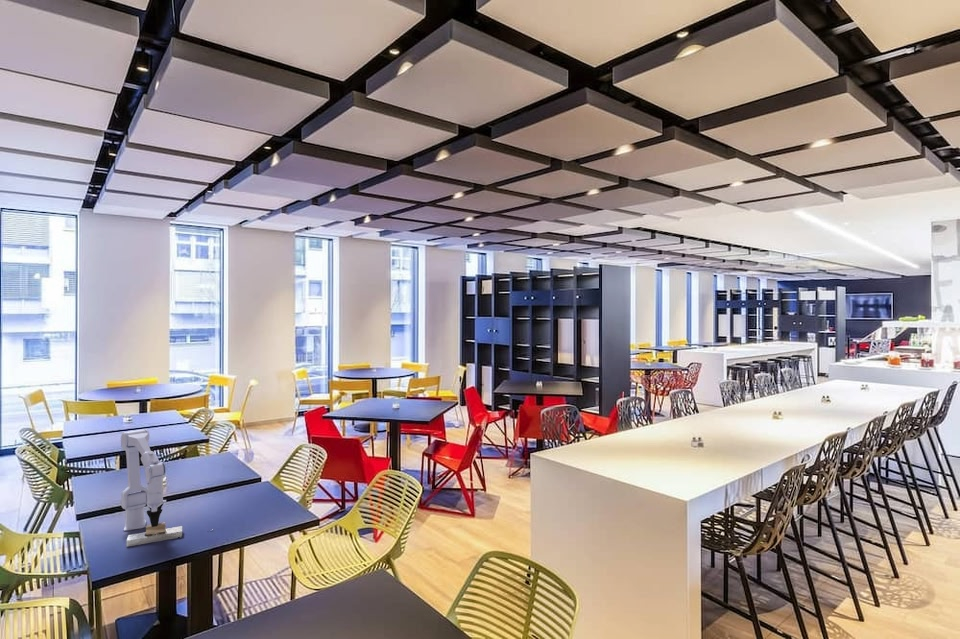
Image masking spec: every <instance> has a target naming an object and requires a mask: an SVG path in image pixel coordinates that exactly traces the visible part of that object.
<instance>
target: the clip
mask: <svg viewBox="0 0 960 639" xmlns="http://www.w3.org/2000/svg"><path fill="white" fill-rule="evenodd" d="M165 529H166V522H165V521H163V522H158V526H156V527H152V526H151V524H147V525H146V524H145V532H146V535H147V536H151V534H154V533H160V532H161V534H163V533H164V532H165Z"/></svg>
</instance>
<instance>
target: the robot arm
mask: <svg viewBox="0 0 960 639" xmlns="http://www.w3.org/2000/svg"><path fill="white" fill-rule="evenodd" d="M149 440H150V432H149V430H148V429H146V428H142V429H137V430H131V431H123V432H122V433H121V436H120V447H121V450H122V451H125V456H126V457H125V458H126V472H127V473H126V474H127V487H125V489H124V490H123V491H121V494H120V505H121V508H122V509H123V510H125V512H124V513H125V516H124V517H125V524H124V528H123V532H127V531H133V530H138V529H139V530H140V529H144V528H146V523H147V520H146V519H145V507H146V506H147V507H148V508H149V509H148V510H146V515H147V516H148V518H149V521H150V525H151V526H152V527H156V526H158V523H160V522H159V521H160V517H161V514H162V512H163V505H164V504H166V503H167V499H164V476H165V475H166V470H167V469H166V464H165V462H162V460H159V458H158V456H157V454H156V453H155V451H151V448H150V445H149ZM139 453H140V454H139ZM140 455H141V457H140ZM140 461H141V464H142V465H143V467H144V469H145V470H144V475H145V481H146V484H147V485H146V486H147V487H146V486H145V485H142V483H141V468H140Z"/></svg>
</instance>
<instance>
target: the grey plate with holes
mask: <svg viewBox="0 0 960 639" xmlns="http://www.w3.org/2000/svg"><path fill="white" fill-rule="evenodd" d="M178 537H180V538H183V526H182V525H180V526H174V527H173V526H172V527H169V528H165V532H164V533H163V534H161V532H160V533H154V534H151V536H147V535H146V531H144V532H139V533H131V534H128V535H127V538H126V548H128V547H133V546H139V545H146V544H150V543H157V542H162V541H167V540H172V539H173V540H174V539H179V538H178Z"/></svg>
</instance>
